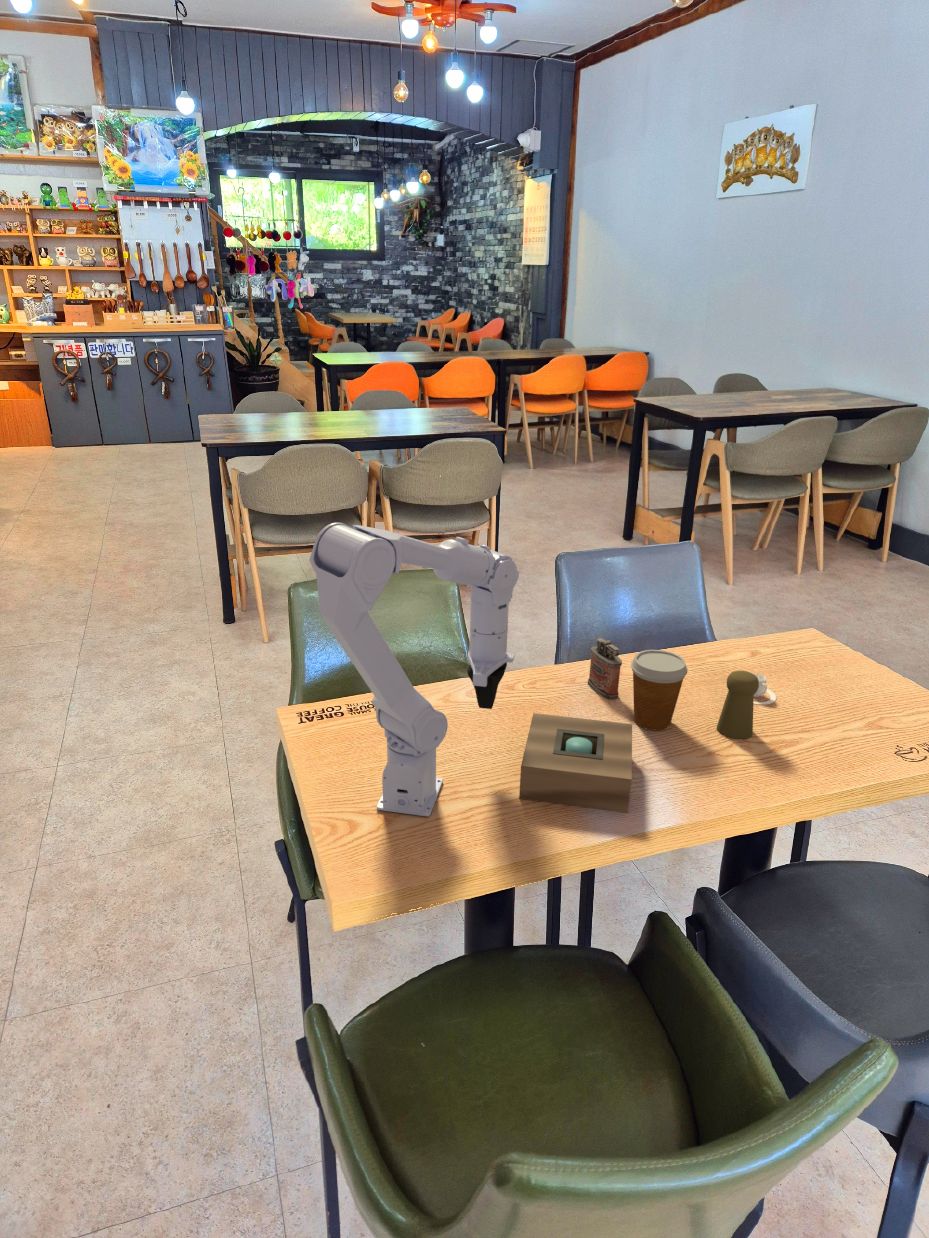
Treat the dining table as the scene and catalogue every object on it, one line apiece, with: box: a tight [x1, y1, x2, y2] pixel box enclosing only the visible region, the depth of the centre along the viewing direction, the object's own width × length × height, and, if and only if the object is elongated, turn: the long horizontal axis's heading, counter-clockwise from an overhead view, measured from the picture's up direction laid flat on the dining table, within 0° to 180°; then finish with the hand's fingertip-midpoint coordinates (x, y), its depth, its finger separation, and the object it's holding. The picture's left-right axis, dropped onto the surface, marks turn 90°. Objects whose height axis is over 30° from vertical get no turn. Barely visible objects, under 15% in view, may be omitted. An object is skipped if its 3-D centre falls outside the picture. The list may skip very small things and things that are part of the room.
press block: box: [518, 712, 633, 814], centre depth 128 cm, size 16×16×6 cm
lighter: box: [587, 637, 623, 701], centre depth 154 cm, size 8×3×10 cm, turn 25°
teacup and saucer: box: [753, 673, 777, 706], centre depth 155 cm, size 9×8×4 cm
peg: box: [566, 737, 592, 754], centre depth 128 cm, size 4×4×5 cm
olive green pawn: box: [716, 670, 759, 741], centre depth 141 cm, size 6×6×11 cm
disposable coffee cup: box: [630, 649, 689, 731], centre depth 143 cm, size 10×10×12 cm
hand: (486, 706), depth 130 cm, fingers closed
